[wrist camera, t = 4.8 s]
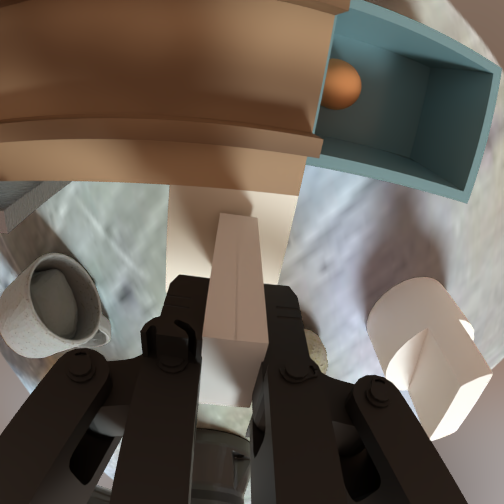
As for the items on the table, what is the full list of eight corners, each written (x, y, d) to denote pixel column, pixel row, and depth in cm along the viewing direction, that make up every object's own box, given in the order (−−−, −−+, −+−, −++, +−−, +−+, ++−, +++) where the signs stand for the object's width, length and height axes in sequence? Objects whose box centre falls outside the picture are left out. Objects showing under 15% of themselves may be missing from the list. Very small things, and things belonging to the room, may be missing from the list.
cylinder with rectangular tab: (370, 285, 27) (424, 396, 16) (454, 269, 26) (522, 358, 16) (362, 353, 31) (395, 452, 21) (436, 336, 31) (480, 421, 21)
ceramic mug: (14, 274, 25) (-24, 326, 19) (57, 234, 23) (11, 290, 17) (84, 345, 30) (61, 403, 24) (135, 320, 28) (115, 386, 22)
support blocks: (256, 173, 22) (270, 272, 11) (-21, 156, 19) (-119, 216, 9) (291, -22, 15) (343, -110, 4) (-12, 1, 12) (-117, 1, 2)
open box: (410, 164, 21) (467, 203, 15) (277, 134, 20) (294, 162, 14) (434, 63, 17) (502, 68, 11) (298, 18, 16) (327, -11, 10)
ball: (318, 107, 16) (294, 100, 18) (365, 119, 17) (338, 109, 19) (329, 52, 14) (303, 52, 17) (376, 68, 15) (347, 65, 18)
